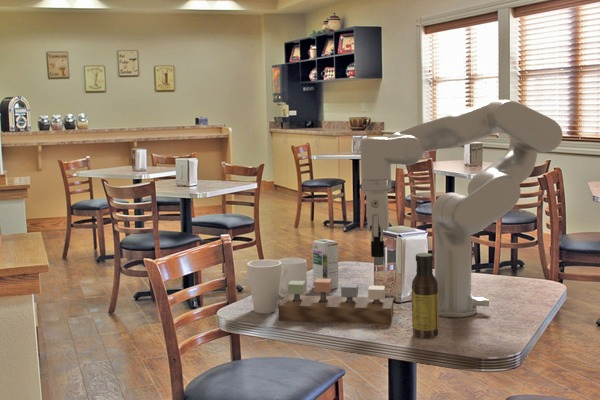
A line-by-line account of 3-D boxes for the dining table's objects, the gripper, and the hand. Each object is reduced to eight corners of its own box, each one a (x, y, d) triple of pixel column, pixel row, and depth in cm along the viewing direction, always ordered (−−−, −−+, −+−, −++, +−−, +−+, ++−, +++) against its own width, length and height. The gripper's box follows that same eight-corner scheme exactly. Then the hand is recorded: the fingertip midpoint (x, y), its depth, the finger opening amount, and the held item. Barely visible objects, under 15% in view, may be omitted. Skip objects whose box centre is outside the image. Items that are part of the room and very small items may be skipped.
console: (393, 312, 198) (393, 298, 198) (391, 324, 189) (391, 308, 188) (286, 309, 203) (285, 295, 203) (278, 320, 194) (278, 305, 193)
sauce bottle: (423, 329, 184) (423, 250, 181) (443, 335, 179) (444, 253, 176) (406, 335, 179) (406, 254, 177) (427, 341, 175) (427, 258, 172)
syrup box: (312, 288, 226) (311, 240, 224) (326, 284, 230) (325, 238, 228) (325, 291, 221) (324, 243, 219) (339, 287, 225) (338, 240, 223)
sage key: (305, 305, 199) (305, 280, 198) (303, 309, 195) (302, 284, 194) (291, 304, 200) (290, 280, 199) (288, 308, 196) (287, 284, 195)
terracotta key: (331, 303, 198) (331, 278, 197) (329, 307, 194) (329, 282, 193) (316, 302, 199) (316, 278, 198) (314, 306, 195) (314, 282, 194)
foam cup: (244, 314, 200) (243, 266, 198) (251, 304, 209) (250, 259, 207) (280, 315, 198) (278, 267, 196) (285, 305, 207) (284, 259, 206)
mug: (291, 303, 209) (290, 267, 208) (266, 300, 213) (265, 264, 212) (312, 293, 219) (311, 259, 218) (287, 290, 224) (287, 256, 222)
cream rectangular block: (385, 310, 196) (384, 285, 195) (384, 314, 192) (383, 289, 191) (369, 309, 196) (369, 285, 195) (368, 314, 192) (368, 289, 192)
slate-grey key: (358, 308, 197) (358, 283, 196) (356, 312, 193) (356, 287, 192) (343, 307, 197) (342, 283, 197) (341, 311, 194) (341, 287, 193)
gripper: (389, 189, 182) (390, 263, 184) (392, 181, 196) (393, 250, 199) (358, 189, 183) (360, 263, 185) (364, 182, 197) (365, 250, 200)
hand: (377, 256), depth 192 cm, fingers closed
